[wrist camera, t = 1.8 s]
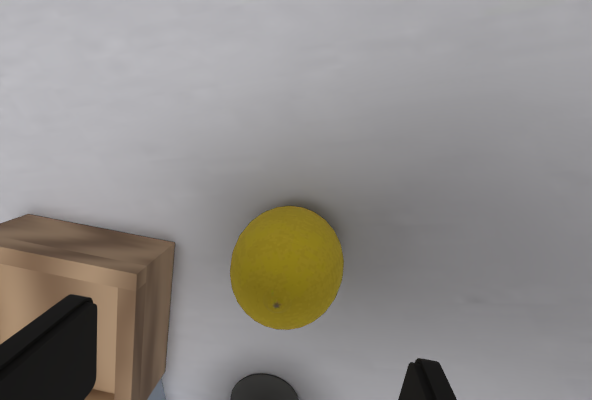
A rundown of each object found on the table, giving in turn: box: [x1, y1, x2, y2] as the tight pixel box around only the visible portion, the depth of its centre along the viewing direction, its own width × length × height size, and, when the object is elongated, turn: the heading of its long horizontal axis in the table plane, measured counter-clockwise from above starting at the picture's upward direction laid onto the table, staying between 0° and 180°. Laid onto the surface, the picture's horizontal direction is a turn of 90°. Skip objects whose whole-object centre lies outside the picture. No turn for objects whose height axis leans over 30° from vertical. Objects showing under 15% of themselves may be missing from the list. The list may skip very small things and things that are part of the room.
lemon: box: [230, 206, 344, 330], centre depth 17 cm, size 6×6×8 cm
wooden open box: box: [0, 214, 175, 400], centre depth 22 cm, size 10×10×4 cm
